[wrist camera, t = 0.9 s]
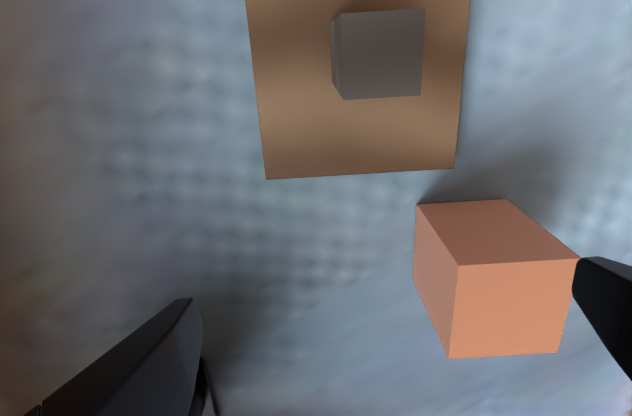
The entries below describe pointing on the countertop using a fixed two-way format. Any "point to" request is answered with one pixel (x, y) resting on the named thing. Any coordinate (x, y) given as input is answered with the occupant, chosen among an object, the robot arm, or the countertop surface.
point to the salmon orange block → (491, 278)
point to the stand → (357, 84)
